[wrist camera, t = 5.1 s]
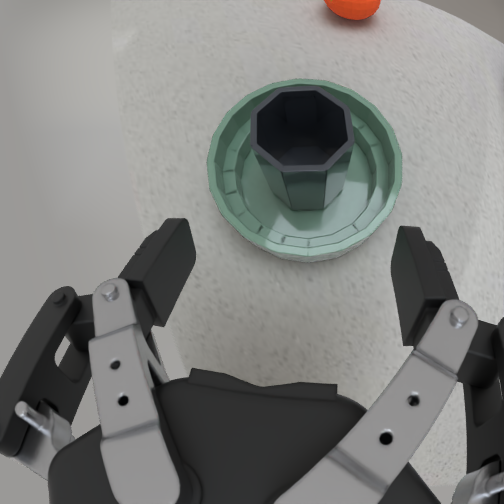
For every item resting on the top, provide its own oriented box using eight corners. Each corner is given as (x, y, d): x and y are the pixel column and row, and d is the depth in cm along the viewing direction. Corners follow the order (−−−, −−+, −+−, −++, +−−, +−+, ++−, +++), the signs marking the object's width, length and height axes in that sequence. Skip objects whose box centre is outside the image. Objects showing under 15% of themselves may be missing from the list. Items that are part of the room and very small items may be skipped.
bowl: (308, 298, 24) (307, 301, 19) (195, 186, 27) (172, 165, 22) (417, 179, 23) (436, 156, 18) (300, 87, 26) (296, 55, 21)
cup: (308, 226, 24) (304, 192, 16) (256, 178, 25) (229, 130, 17) (356, 175, 23) (372, 124, 15) (303, 133, 25) (296, 72, 17)
